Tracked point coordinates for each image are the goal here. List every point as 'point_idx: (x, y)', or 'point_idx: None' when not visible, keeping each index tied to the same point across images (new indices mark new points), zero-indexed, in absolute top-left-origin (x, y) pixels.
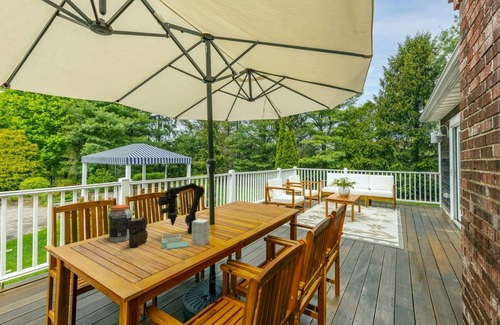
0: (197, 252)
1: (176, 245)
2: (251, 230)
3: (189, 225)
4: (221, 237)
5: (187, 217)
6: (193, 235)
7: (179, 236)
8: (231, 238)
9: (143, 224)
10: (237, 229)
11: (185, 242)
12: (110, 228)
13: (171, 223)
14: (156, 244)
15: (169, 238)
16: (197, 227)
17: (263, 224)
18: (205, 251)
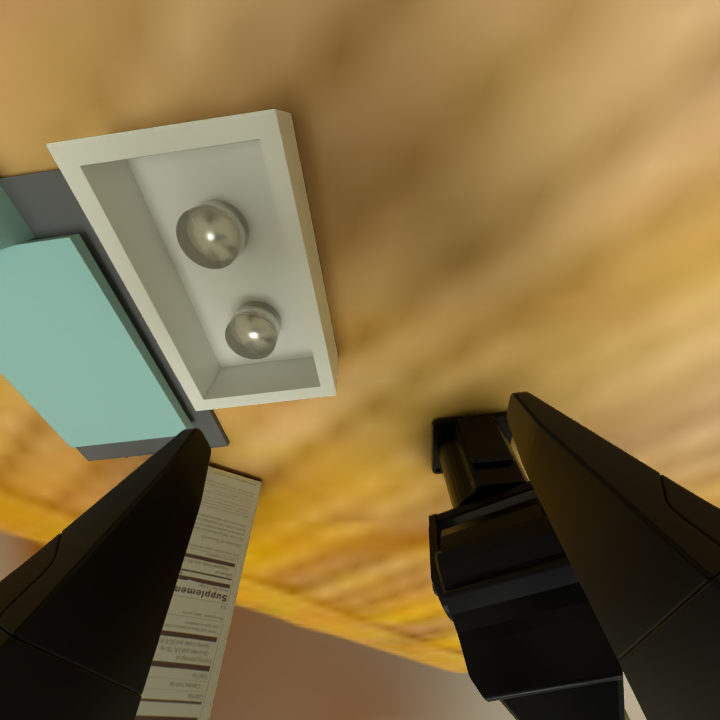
0: (14, 480)
1: (41, 356)
2: (392, 637)
3: (506, 500)
4: (313, 567)
5: (546, 633)
6: None
7: (310, 372)
8: (288, 593)
9: None
10: (433, 611)
11: (149, 424)
12: None
13: (133, 475)
14: (124, 22)
15: (136, 280)
16: None
17: (461, 660)
18: (51, 513)
